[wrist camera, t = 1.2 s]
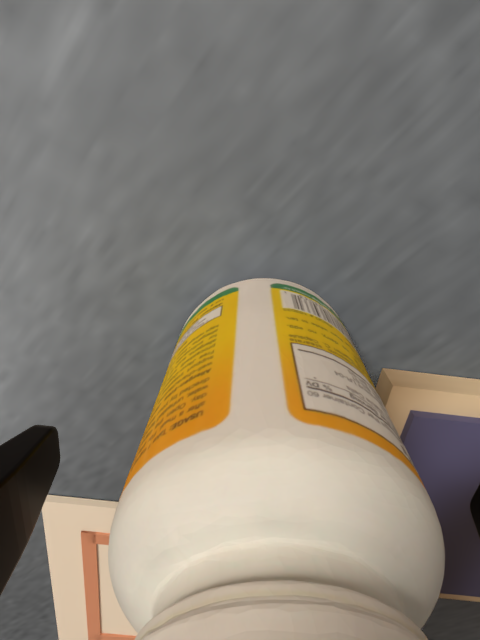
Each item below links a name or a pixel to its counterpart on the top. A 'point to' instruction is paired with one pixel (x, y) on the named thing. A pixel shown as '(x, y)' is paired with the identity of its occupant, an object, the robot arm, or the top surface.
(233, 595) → the supplement bottle
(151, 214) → the top surface
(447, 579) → the ink pad
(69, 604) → the print card
